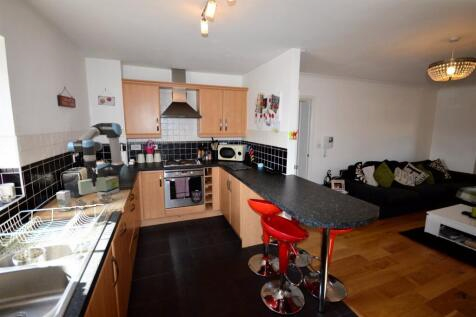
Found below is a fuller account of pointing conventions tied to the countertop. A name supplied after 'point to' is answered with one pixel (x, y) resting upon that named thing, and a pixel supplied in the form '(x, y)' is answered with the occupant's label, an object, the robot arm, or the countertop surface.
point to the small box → (72, 189)
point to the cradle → (95, 201)
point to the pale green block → (86, 185)
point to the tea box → (110, 186)
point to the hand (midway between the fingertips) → (92, 189)
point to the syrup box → (63, 200)
